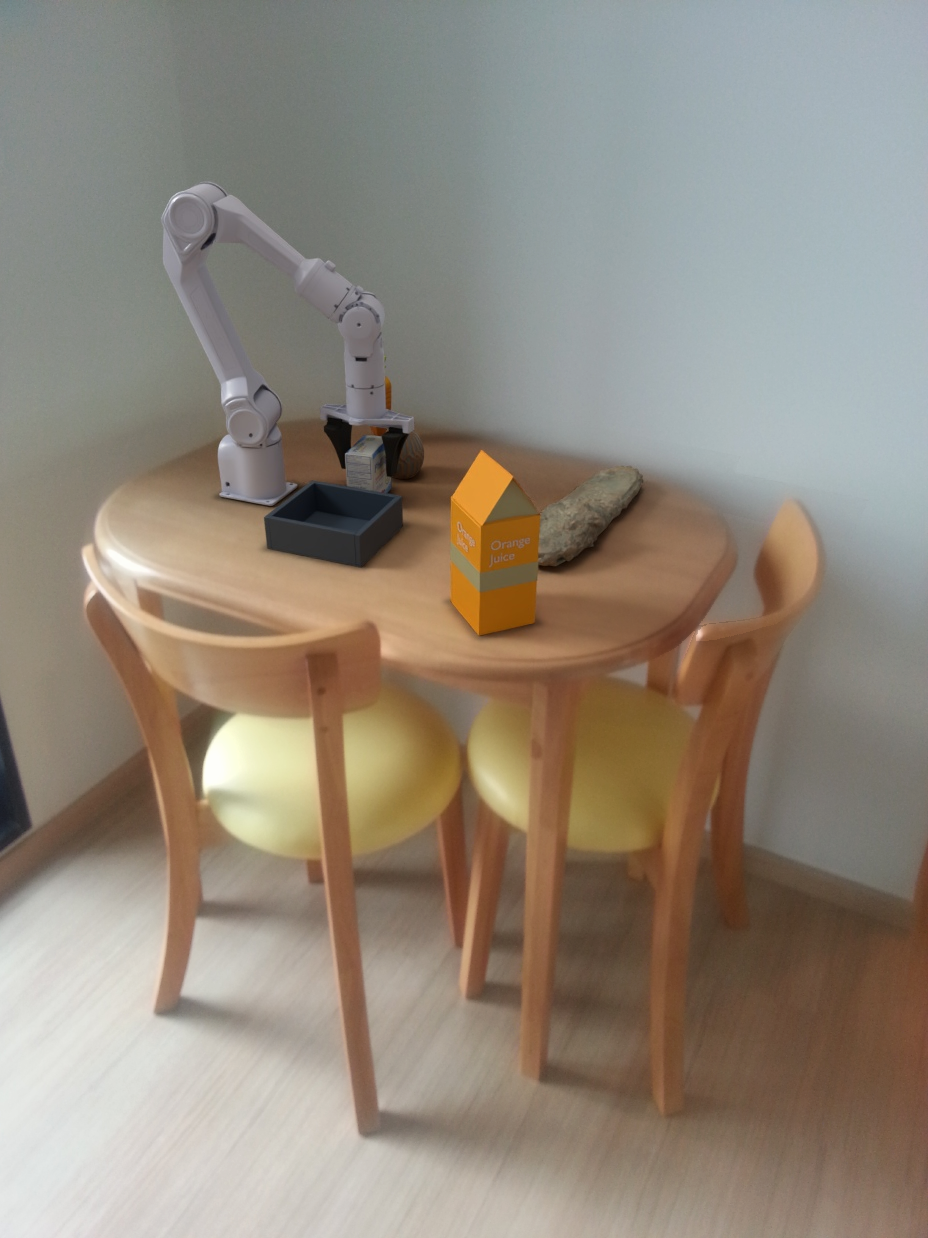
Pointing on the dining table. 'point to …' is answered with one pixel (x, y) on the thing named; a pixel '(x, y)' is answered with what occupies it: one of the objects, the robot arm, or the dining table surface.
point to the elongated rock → (585, 513)
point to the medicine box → (367, 465)
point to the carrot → (378, 430)
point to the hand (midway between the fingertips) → (368, 470)
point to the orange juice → (493, 549)
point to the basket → (334, 523)
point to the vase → (410, 457)
